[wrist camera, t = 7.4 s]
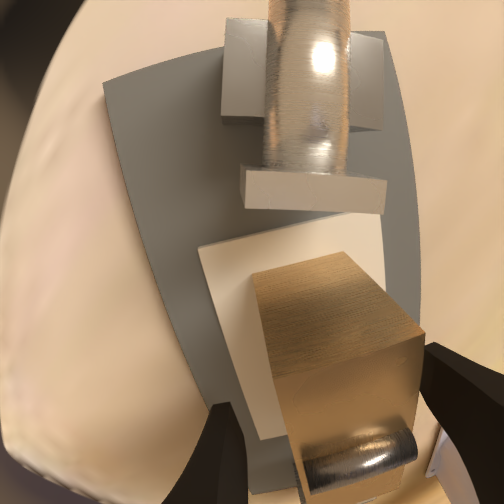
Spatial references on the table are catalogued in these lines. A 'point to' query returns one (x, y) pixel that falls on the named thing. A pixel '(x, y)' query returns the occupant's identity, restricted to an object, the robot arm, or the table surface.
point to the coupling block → (341, 376)
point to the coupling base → (247, 232)
